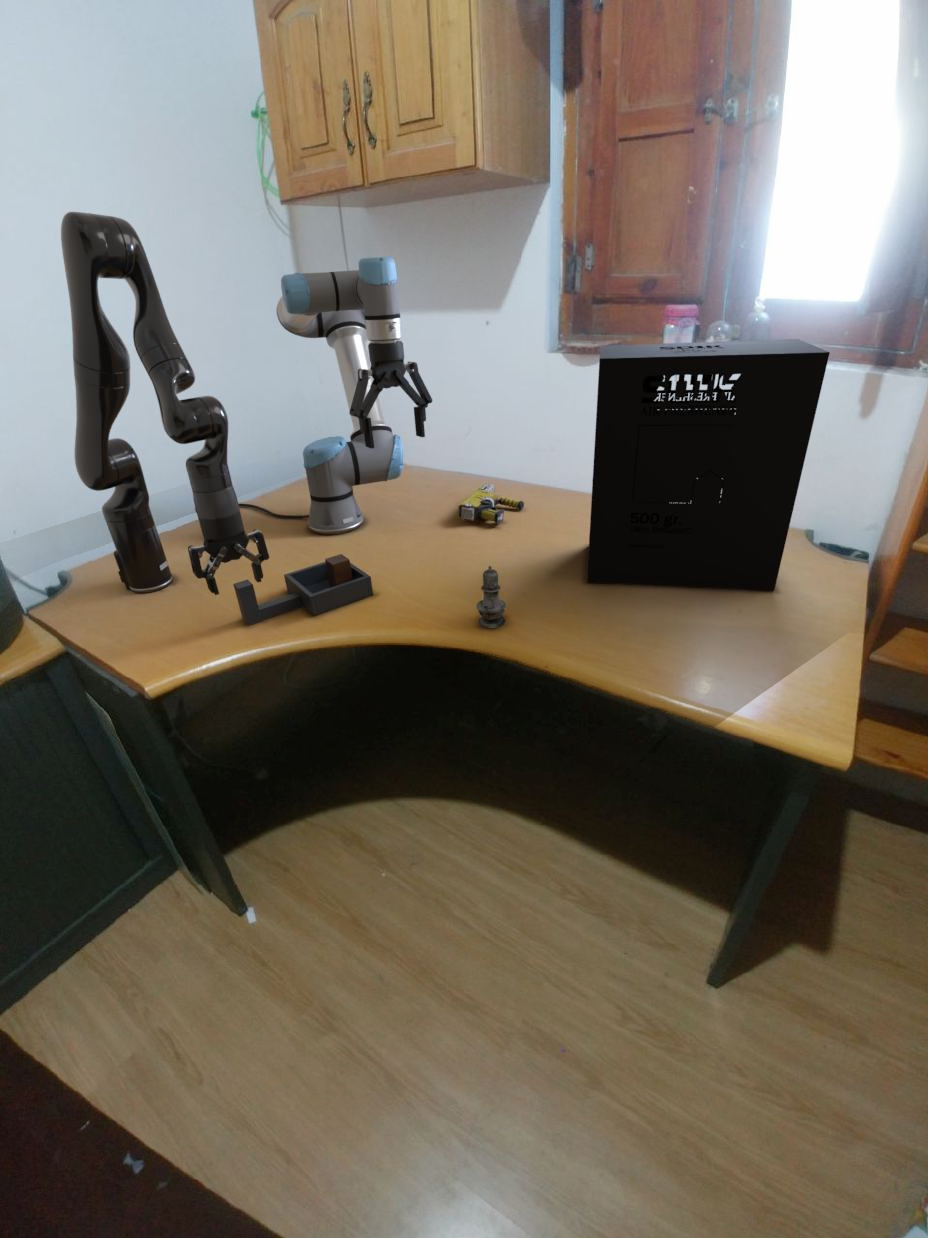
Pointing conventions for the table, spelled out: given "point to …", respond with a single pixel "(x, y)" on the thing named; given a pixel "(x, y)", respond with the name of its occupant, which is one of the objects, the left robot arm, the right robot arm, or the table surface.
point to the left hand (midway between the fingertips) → (237, 587)
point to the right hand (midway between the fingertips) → (395, 441)
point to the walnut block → (338, 570)
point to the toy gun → (486, 505)
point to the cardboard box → (699, 461)
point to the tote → (304, 593)
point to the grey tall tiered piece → (491, 601)
